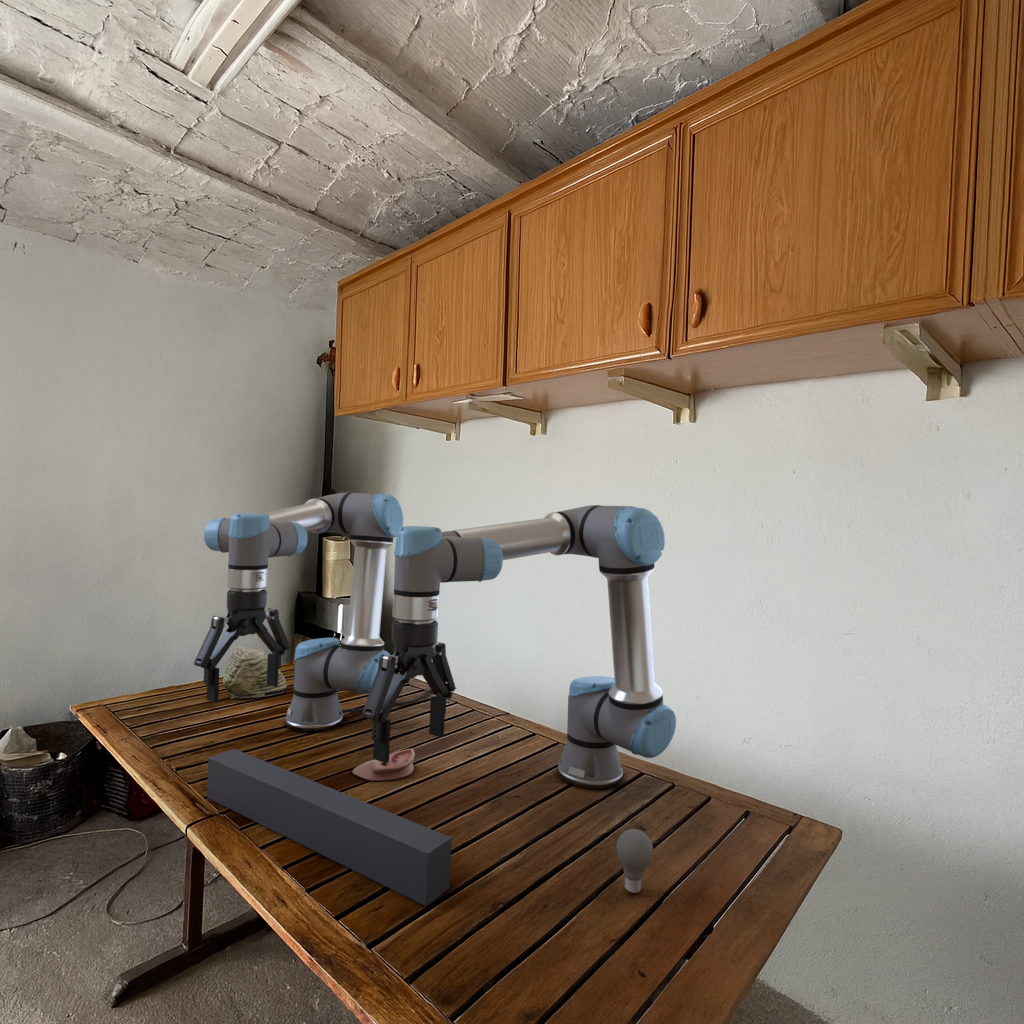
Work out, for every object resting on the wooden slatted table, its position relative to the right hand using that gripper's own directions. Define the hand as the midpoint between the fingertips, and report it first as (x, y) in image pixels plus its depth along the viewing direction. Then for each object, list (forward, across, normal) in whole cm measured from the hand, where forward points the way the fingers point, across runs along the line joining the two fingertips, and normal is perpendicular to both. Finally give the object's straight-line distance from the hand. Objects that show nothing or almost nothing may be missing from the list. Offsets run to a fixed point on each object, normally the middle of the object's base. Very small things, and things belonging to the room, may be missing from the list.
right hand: (410, 747), depth 105 cm
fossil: (+23, +44, +103) cm, 114 cm away
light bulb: (+23, +21, -32) cm, 44 cm away
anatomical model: (+23, +29, +33) cm, 49 cm away
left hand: (0, 0, +45) cm, 45 cm away
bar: (+23, 0, +23) cm, 32 cm away
